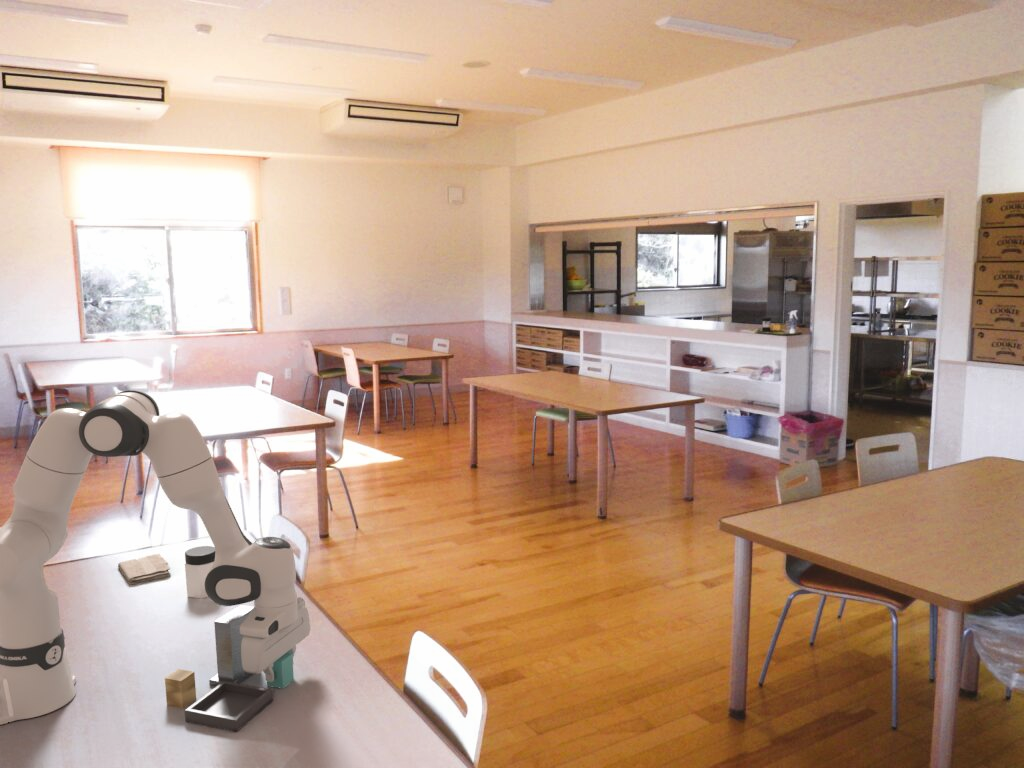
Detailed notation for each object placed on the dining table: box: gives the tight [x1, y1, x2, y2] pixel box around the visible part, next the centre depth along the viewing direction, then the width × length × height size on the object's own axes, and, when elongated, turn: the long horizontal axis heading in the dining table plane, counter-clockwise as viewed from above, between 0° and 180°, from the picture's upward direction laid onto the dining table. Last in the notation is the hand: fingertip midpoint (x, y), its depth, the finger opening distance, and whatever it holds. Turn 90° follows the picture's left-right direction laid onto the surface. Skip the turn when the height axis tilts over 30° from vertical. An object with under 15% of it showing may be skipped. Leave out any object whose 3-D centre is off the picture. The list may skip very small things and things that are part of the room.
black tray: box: [184, 681, 274, 733], centre depth 167 cm, size 12×12×2 cm
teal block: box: [266, 653, 295, 689], centre depth 178 cm, size 4×4×6 cm
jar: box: [184, 545, 215, 599], centre depth 227 cm, size 9×8×12 cm
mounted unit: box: [208, 604, 254, 687], centre depth 181 cm, size 6×11×14 cm, turn 161°
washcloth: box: [117, 553, 171, 586], centre depth 243 cm, size 12×18×3 cm, turn 36°
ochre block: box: [164, 668, 197, 709], centre depth 170 cm, size 4×4×6 cm
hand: (279, 673), depth 178 cm, fingers open, 5 cm apart
